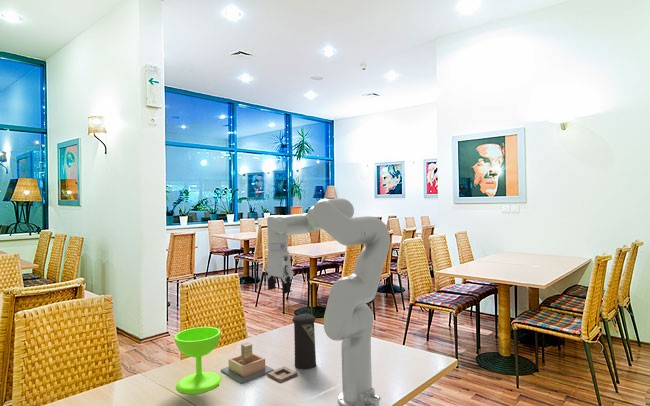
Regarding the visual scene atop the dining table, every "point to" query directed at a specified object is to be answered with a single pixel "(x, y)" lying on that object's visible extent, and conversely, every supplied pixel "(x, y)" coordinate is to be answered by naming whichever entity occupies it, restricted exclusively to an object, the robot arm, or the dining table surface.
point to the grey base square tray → (246, 368)
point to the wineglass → (198, 358)
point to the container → (304, 341)
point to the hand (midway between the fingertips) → (279, 291)
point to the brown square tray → (282, 374)
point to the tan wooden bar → (246, 353)
